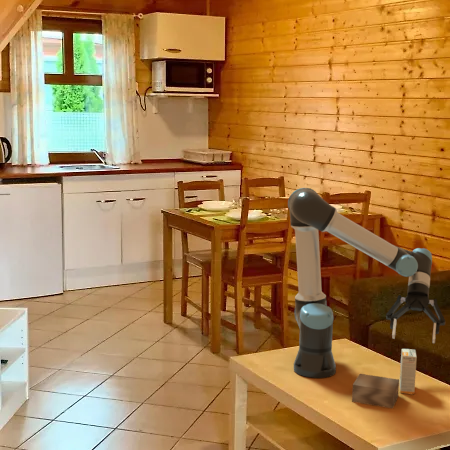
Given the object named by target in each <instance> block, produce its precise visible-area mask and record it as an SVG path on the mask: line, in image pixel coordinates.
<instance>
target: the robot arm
mask: <svg viewBox="0 0 450 450" xmlns="http://www.w3.org/2000/svg"><path fill="white" fill-rule="evenodd" d="M288 197H289V198H288V200H287V207H288V210H289V218H290V227H291V228H292V229H293V230H294V234H295V238H294V239H295V252H296V266H297V267H296V270H297V284H298V285H297V287H298V288H297V289H298V293H297V294H296V295H295V296H294V305H295V307H294V319H295V321H296V322H297V325H298V329H299V340H298V343H299V345H298V351H297V353H296V356H295V359H294V362H293V372H295V373H296V374H297V375H300V376H302V377H307V378H312V379H313V378H314V379H315V378H316V379H318V378H319V379H322V378H329V377H332V376H334V375H335V374H336V369H337V366H336V361H335V359H334V354H333V350H332V348H333V328H334V327H333V325H334V324H333V323H334V319H335V318H334V312H333V309H332V308H331V307H330V306H328V305H327V295H326V294H325V293H324V292H323V291H322V290H323V289H322V277H321V276H322V275H321V271H322V270H321V257H320V256H321V253H320V241H319V240H320V235H319V234H320V233H319V232H321V233H324V232H327V233H329V234H331V235H333V236H334V237H336V238H338V239H340V240H341V241H342V242H345V243H347V244H348V245H349V246H352V247H353V248H355V249H357V250H358V251H360V252H362V253H364V254H366V255H367V256H369V257H370V258H372V259H374V260H376V261H378V262H380V263H382V264H383V265H385V267H386V266H387V267H388V268H390V269H392V270H393V271H395V272H396V273H397V274H398V275H400V276H402V277H406V278H408V282H407V283H408V284H407V292H406V293H407V294H406V296H405V297H404V296H403V297H402V295H398V296H397V299H396V300H395V302H394V304H393V305H392V306H391V307H390V308H389V310H388V311H387V312H386V314H385V317H386V318H385V319H386V320H389V321H390V323H389V324H390V325H389V328H390V330H392V334H391V336H392V337H391V338H392V339H394V340H395V337H396V330H397V329H396V328H397V320H398V319H399V318H401V316H403V315H404V314H405V313H406V312H409V311H410V310H411V311H417V312H422V311H423V312H424V313H425V314H426V316H428V318H429V319H430V320H431V321H432V322H433V330H432V344H435V343H436V335H439V333H440V327H441V326H445V325H446V319H445V317H444V315H443V312H442V311H441V309H440V307H439V305H438V299H437V298H434V299H429V298H430V297H429V296H430V295H429V293H430V286H431V275H432V274H431V273H432V265H433V254H432V252H431V251H429V250H428V249H427V248H424V247H423V248H420V247H417V248H415V249H413V250H412V251H410V250H408V249H405V248H403V247H399V246H397V245H394V244H392V243H390V242H389V241H387V240H385V238H382V237H380V236H379V235H376V234H375V233H373V232H371V231H370V230H368V229H366V228H365V227H363V226H362V225H360V224H358V223H356V222H354V221H353V220H351V219H349V218H348V217H346V216H344V215H342V214H341V213H339V212H338V209H337V208H336V207H334V206H333V205H331V204H329V203H328V202H327V200H325V199H324V198H323V197H322V196H320V194H318V192H316V190H314V189H312V188H309V187H301V188H298V189H295V190H294V191H293V192H292V193H291V194H290V195H289V196H288ZM404 302H405V304H404V305H403V306H402V307H400V306H401V304H403V303H404ZM429 305H431V307H433V309H434V311H435V314H436V315H435V314H434V313H433V312H432V310H431V309H430V308H429ZM399 307H400V309H398V308H399Z"/></svg>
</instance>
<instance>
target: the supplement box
mask: <svg viewBox="0 0 450 450" xmlns="http://www.w3.org/2000/svg"><path fill="white" fill-rule="evenodd" d="M400 352H401V353H400V355H401V356H400V366H399V367H400V370H399V371H400V373H399V393H400V394H406V395H415V387H416V375H417V374H416V372H417V371H416V370H417V358H418V357H417V351H416V349H413V348H412V349H410V348H401V351H400Z"/></svg>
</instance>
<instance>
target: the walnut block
mask: <svg viewBox="0 0 450 450" xmlns="http://www.w3.org/2000/svg"><path fill="white" fill-rule="evenodd" d="M399 383H400V378H399V379H398V378H391V377H385V376H378V375H372V374H365V373H359V374H358V375H357V377H356V379H355V381H354V382H353V384H352V394H351V395H352V396H351V397H352V399H351V402H353V403H358V404H359V403H360V404H364V405H370V406H377V407H382V408H388V409H394V407H395V404H396V402H397V400H398V397H399V392H400V386H399Z"/></svg>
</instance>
